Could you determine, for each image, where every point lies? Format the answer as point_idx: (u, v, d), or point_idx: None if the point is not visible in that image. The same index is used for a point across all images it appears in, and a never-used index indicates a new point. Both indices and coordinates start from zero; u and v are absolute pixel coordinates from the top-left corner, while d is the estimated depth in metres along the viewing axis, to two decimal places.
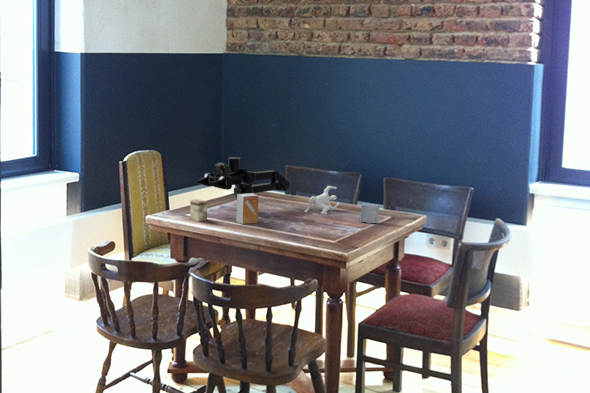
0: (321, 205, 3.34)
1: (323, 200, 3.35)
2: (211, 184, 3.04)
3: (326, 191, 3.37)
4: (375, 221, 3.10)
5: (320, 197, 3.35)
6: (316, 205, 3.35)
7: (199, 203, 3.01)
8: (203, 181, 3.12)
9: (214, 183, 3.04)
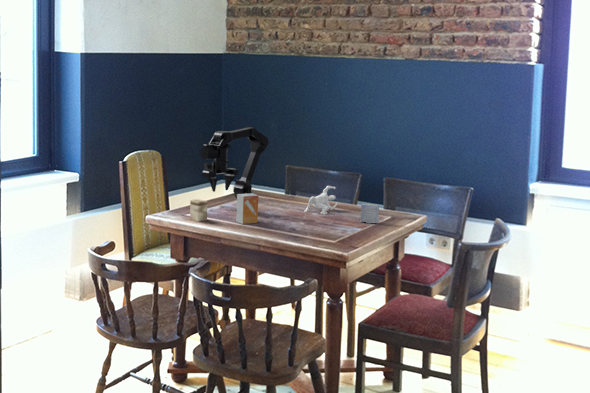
0: (320, 205, 3.34)
1: (322, 200, 3.35)
2: (213, 189, 3.09)
3: (325, 191, 3.37)
4: (375, 221, 3.10)
5: (319, 197, 3.35)
6: (315, 205, 3.34)
7: (199, 203, 3.01)
8: (227, 182, 3.15)
9: (212, 186, 3.09)
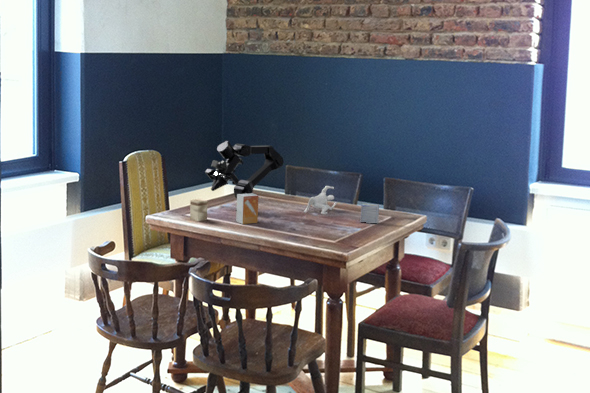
0: (320, 205, 3.33)
1: (321, 200, 3.34)
2: (214, 189, 3.09)
3: (324, 191, 3.36)
4: (375, 221, 3.10)
5: (318, 197, 3.34)
6: (315, 205, 3.34)
7: (199, 203, 3.01)
8: None
9: (216, 186, 3.09)
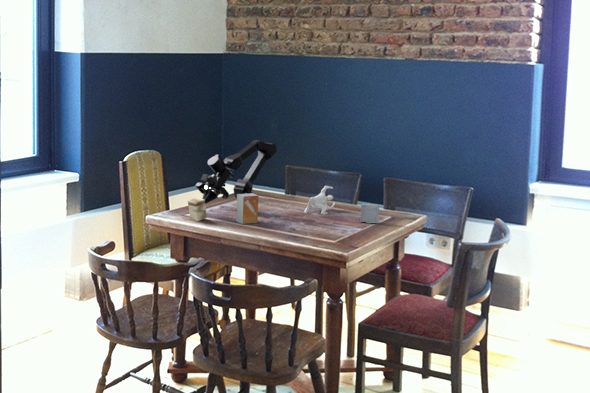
0: (319, 205, 3.33)
1: (321, 200, 3.34)
2: None
3: (323, 191, 3.36)
4: (375, 221, 3.10)
5: (318, 197, 3.34)
6: (314, 205, 3.33)
7: (197, 203, 3.00)
8: None
9: (206, 200, 3.06)
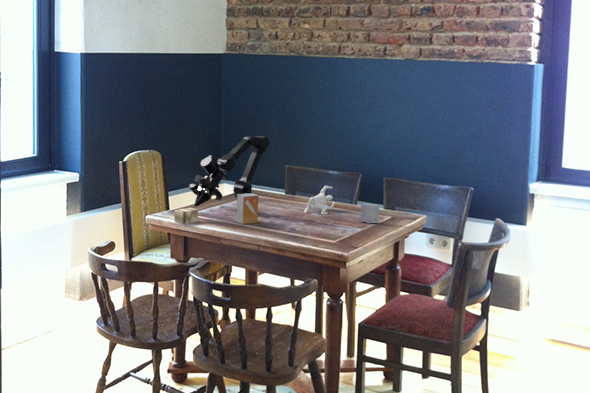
0: (319, 205, 3.33)
1: (321, 200, 3.34)
2: (197, 204, 3.03)
3: (323, 191, 3.36)
4: (375, 221, 3.10)
5: (318, 197, 3.34)
6: (314, 205, 3.33)
7: (183, 222, 2.96)
8: None
9: (199, 201, 3.03)
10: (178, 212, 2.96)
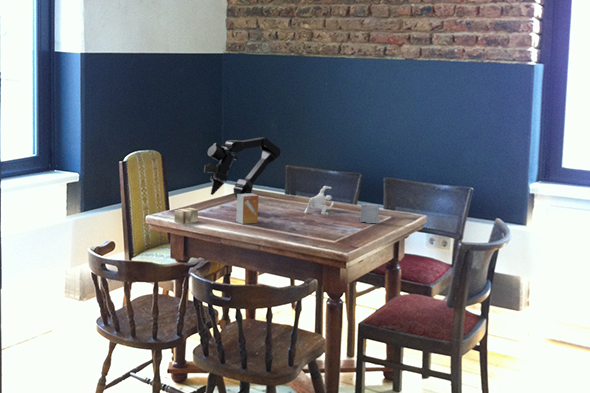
0: (319, 206, 3.32)
1: (320, 200, 3.33)
2: (213, 192, 3.11)
3: (322, 191, 3.35)
4: (375, 221, 3.10)
5: (317, 198, 3.33)
6: (314, 206, 3.32)
7: (183, 222, 2.96)
8: None
9: (213, 189, 3.11)
10: (178, 212, 2.96)
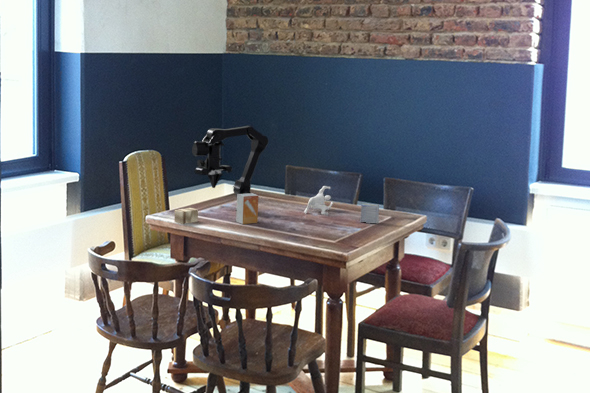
0: (319, 206, 3.32)
1: (320, 200, 3.33)
2: (212, 185, 3.14)
3: (322, 191, 3.35)
4: (375, 221, 3.10)
5: (317, 198, 3.33)
6: (314, 206, 3.32)
7: (183, 222, 2.96)
8: None
9: (211, 182, 3.14)
10: (178, 212, 2.96)
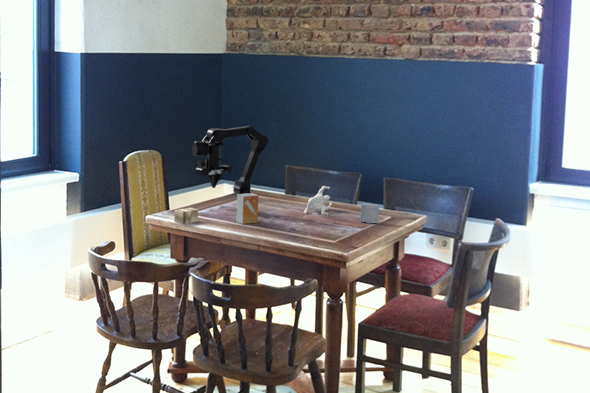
0: (318, 206, 3.32)
1: (319, 201, 3.33)
2: (212, 185, 3.14)
3: (321, 191, 3.35)
4: (375, 221, 3.10)
5: (316, 198, 3.33)
6: (313, 206, 3.32)
7: (183, 222, 2.96)
8: None
9: (211, 182, 3.14)
10: (178, 212, 2.96)
